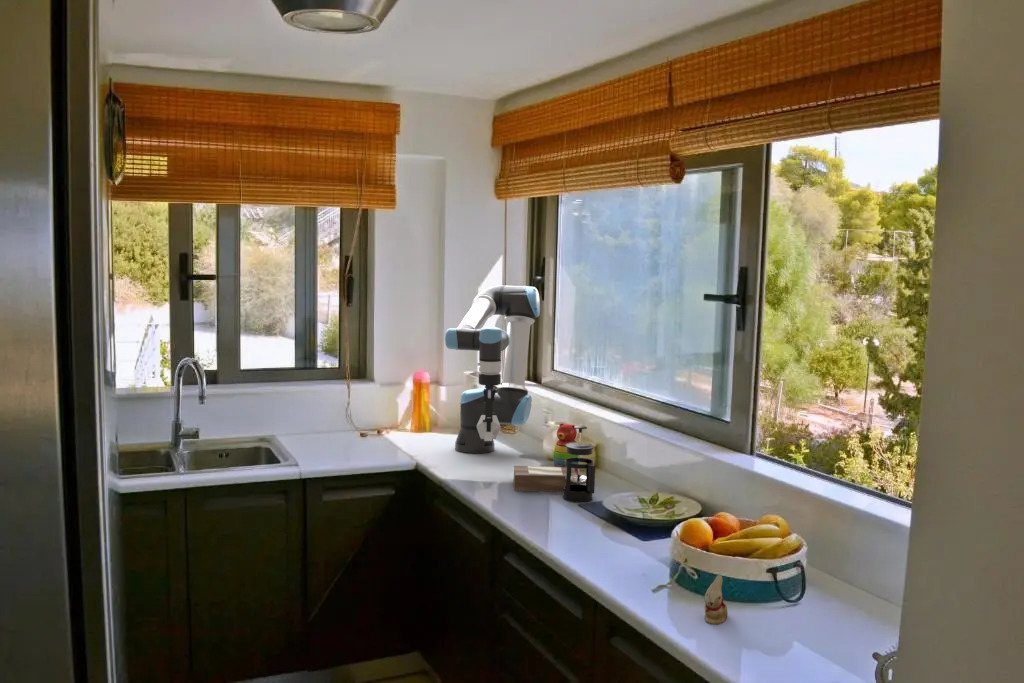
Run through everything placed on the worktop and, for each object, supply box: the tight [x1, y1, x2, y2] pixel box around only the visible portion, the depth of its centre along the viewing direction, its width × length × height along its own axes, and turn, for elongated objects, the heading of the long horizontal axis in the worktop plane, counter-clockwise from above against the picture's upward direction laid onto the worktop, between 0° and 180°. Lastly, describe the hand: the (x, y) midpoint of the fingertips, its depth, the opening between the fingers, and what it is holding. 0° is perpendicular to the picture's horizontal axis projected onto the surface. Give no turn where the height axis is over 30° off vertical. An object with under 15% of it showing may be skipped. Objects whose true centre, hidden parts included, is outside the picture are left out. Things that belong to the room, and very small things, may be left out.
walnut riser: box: [513, 465, 578, 492], centre depth 297 cm, size 12×20×5 cm, turn 91°
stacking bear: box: [552, 423, 579, 475], centre depth 311 cm, size 11×10×18 cm
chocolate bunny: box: [703, 574, 728, 626], centre depth 194 cm, size 6×8×10 cm
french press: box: [562, 425, 596, 503], centre depth 282 cm, size 12×9×23 cm
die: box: [477, 415, 502, 440], centre depth 310 cm, size 8×9×10 cm
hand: (488, 437), depth 310 cm, fingers closed on die, 9 cm apart
